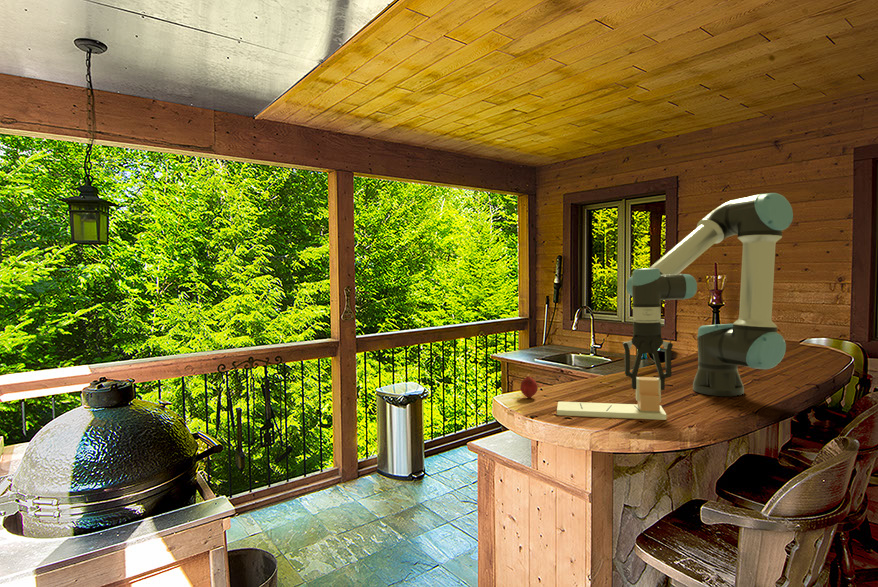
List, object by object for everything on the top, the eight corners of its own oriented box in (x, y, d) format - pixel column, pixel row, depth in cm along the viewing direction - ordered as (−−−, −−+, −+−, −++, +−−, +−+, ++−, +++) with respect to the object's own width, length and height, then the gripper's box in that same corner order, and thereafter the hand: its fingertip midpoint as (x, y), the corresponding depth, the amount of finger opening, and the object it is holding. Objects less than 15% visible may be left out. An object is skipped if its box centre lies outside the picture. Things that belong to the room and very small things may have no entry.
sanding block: (655, 406, 146) (655, 376, 145) (659, 413, 138) (659, 381, 138) (637, 405, 147) (637, 375, 147) (640, 412, 139) (640, 381, 139)
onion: (538, 400, 163) (537, 376, 163) (520, 400, 164) (520, 376, 163) (537, 396, 169) (536, 373, 168) (520, 396, 169) (520, 373, 169)
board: (660, 410, 146) (660, 405, 146) (666, 419, 137) (666, 414, 137) (558, 406, 155) (558, 401, 155) (556, 415, 145) (556, 410, 145)
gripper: (614, 322, 141) (616, 402, 141) (683, 322, 136) (684, 405, 136) (613, 320, 148) (614, 396, 149) (678, 319, 143) (679, 398, 144)
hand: (648, 400), depth 142 cm, fingers closed on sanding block, 5 cm apart
